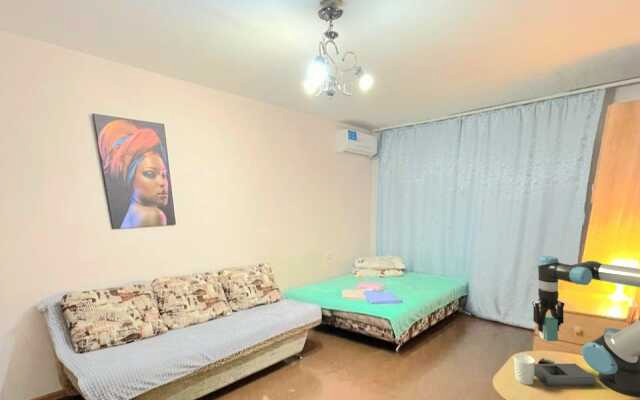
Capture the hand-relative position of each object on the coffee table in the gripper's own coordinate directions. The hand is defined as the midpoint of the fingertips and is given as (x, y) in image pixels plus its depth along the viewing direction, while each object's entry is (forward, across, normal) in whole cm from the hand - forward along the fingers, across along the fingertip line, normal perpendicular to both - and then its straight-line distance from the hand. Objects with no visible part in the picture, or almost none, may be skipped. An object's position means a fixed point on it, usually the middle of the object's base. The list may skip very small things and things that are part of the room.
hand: (548, 337), depth 145 cm
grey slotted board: (+14, +1, +9) cm, 17 cm away
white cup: (+14, +18, +10) cm, 25 cm away
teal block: (0, 0, 0) cm, 0 cm away
